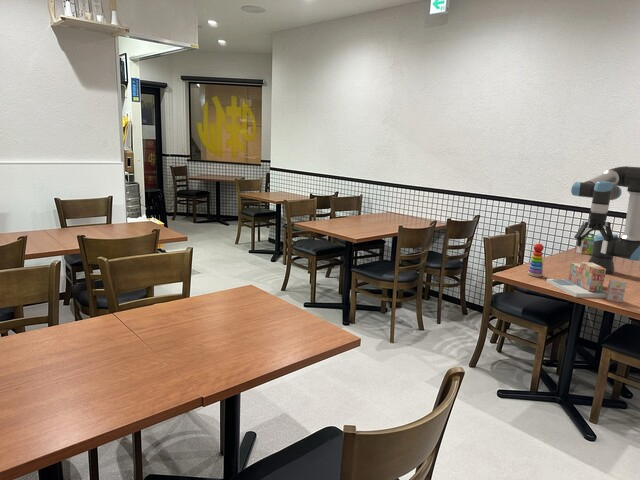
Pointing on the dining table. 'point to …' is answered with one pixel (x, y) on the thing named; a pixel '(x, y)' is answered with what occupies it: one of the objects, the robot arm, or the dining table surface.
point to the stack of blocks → (587, 275)
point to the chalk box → (588, 244)
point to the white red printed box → (615, 291)
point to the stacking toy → (536, 261)
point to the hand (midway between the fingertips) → (591, 252)
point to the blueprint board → (574, 288)
